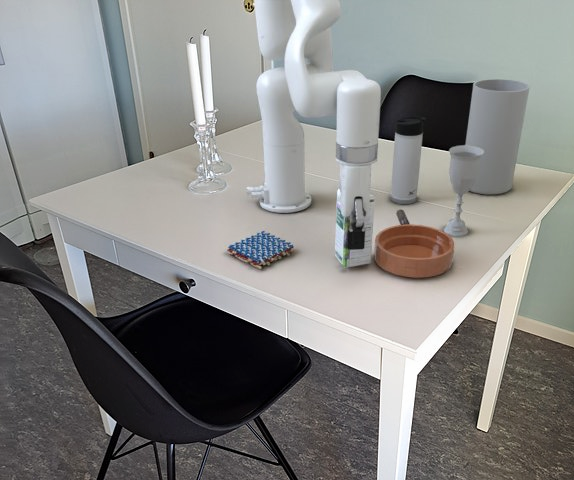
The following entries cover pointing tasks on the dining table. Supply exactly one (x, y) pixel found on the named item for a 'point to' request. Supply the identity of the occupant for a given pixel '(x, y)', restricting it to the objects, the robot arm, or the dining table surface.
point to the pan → (414, 250)
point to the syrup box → (342, 227)
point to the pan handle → (402, 217)
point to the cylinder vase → (496, 131)
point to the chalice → (462, 181)
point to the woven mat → (260, 249)
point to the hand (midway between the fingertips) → (353, 239)
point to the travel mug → (406, 159)
